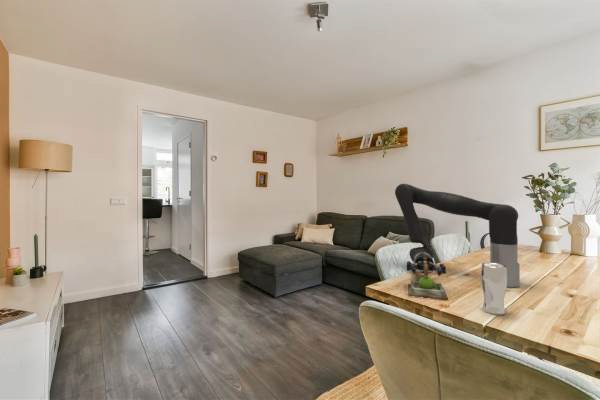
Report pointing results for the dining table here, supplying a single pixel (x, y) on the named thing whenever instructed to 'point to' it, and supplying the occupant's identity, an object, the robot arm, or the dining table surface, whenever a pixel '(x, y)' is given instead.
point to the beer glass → (494, 287)
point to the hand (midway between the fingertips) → (426, 272)
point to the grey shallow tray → (427, 291)
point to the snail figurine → (426, 278)
